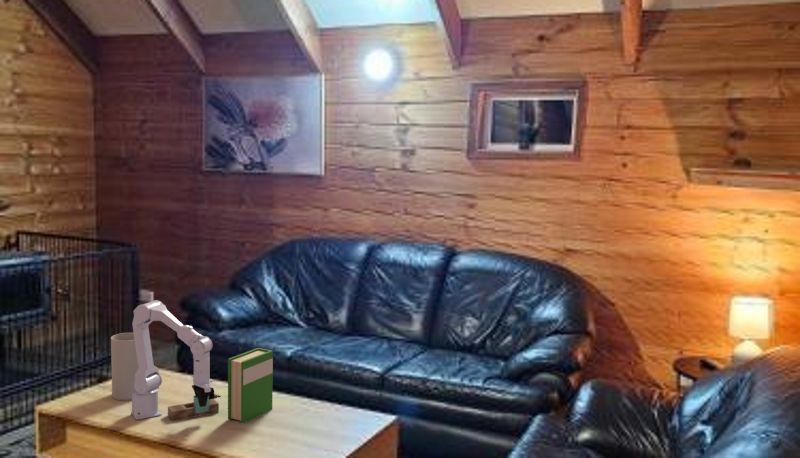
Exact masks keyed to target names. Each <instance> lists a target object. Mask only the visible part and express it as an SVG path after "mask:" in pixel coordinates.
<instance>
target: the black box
mask: <svg viewBox="0 0 800 458" xmlns="http://www.w3.org/2000/svg"><path fill="white" fill-rule="evenodd" d="M211 389H212V390H211V392H210V394H209V399H214V400H216V399H218V398H220V397H221V395H219V394H215V388H214V387H211ZM217 397H218V398H217Z"/></svg>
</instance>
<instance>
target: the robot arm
mask: <svg viewBox="0 0 800 458" xmlns="http://www.w3.org/2000/svg"><path fill="white" fill-rule="evenodd" d="M166 306H167V305H165V304H164V303H163V302H162V301H160V300H157V299H154V300H152V301H149V302H146V303H142V304H139V305H137V306H136V307H135V309H134V310H133V319H132V325H131V326H132V333H134V339H135V346H136V352H137V359H138V366H139V369H138V371H137V373H136V374H135V382H134V388H135V390H136V392H137V393H135V394H133V395H132V400H131V412H130V413H131V415H132V416H133V417H134V418H135V420H142V419H147V418H153V417H159V416H162V413H161V412H160V410H159V389H160V388H159V387H160V386H161V385H162V383H163V378H162V375H161V373H160V372H159V368H158V367H157V366H155V365H154V357H153V351H152V350H153V349H152V343H151V336H150V329H149V326H150V324H152V322H157V321H158V322H162V323H163V324H165V325H166V326H167V327H169V328H171V329H172V330H173V331H175V332H176V334H177V335H176V336H177V338H178V339H180V341H182V342H184V344H186V345H187V346H188V347H190V348H189V349H190V352H191V354H192V359H193V376H192V385H191V388H192V389H193V392H194V394H195V395H194V396H196V395H198V398H199V405H200V407H203V406H206V403H207V399H208V396H209V394H210V392H211V390H212V389H211V388H212V387H211V383H213V379H212V378H210V370H211V369H210V368H211V366H210V362H211V361H210V359H211V357H210V355H211V354H210V351H212V350H213V341H212V339H211V338H210V337H209V336H205V335H202V334H201V333H199V332H198V331H196V330H195V329H194V327H193V326H192V325H188V324H183V323H182V322H181V321H179V320H178V319H177V317H175V316H174V315H173V314H172V313H171V312H170V311H169V310H168V309H167V307H166Z"/></svg>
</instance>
